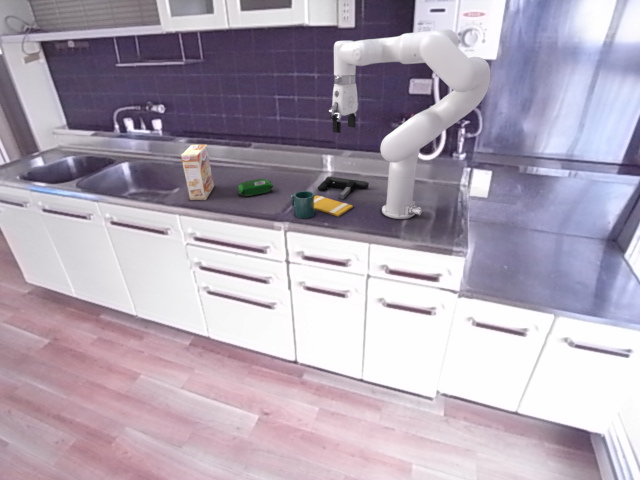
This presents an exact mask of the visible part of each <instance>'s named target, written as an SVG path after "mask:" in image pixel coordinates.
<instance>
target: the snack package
mask: <svg viewBox="0 0 640 480" xmlns="http://www.w3.org/2000/svg"><path fill="white" fill-rule="evenodd" d="M273 183H274V182H272V181H271V180H268V179H266V178H258V179H251V180H245V181H241V182H240V183H239V184H238V187H237V191H238V194H239V195H242V196H244V197H249V196H250V197H252V196H256V195H261V194H267V193H269V192H270V191H271V190H272V189H273V188H274V184H273Z"/></svg>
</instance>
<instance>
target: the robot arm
mask: <svg viewBox="0 0 640 480" xmlns="http://www.w3.org/2000/svg"><path fill="white" fill-rule="evenodd" d="M459 41H460V39H459V37H458V35H457V33H456V32H455V31H453V30H452V29H447V28H445V29H435V30H425V31H417V32H406V33H403V34H401V35H398V36H392V37H391V36H390V37H381V38H369V39H360V40H355V41H354V40H337V41H335V43H334V44H333V89H332V105H331V107H330V109H329V110H328V114H329V118H330V119H331V122H332V132H333V133H335V134H340V133H341V131H342V127H341V126H342V125H341V124H342V123H341V122H342V121H341V118H342V117H343V116H344V117H345V116H347V127H348V128H356V124H357V123H356V121H357V116H358V115H357V112H358V111H359V110H358V109H359V105H360V103H359V101H358V89H357V84H356V69H357V67H364V66H369V65H374V64H381V63H383V64H385V63H400V64H402V65H411V64H412V65H414V64H426V65H427V66H428V68H430V69H431V71H433V72H434V74H435V75H436V76H437V77H439V79H441V80H442V81H443V82H444V83H445V84H446V85H447V87H448V88H450V89H451V90H452V91H451V92H449V93H448V94H447V95H445V96H443V97H442V99H440V100H439V101H437V102H436V103H434V104H433V105H432V106H430V107H428V108H426V109H424V110H422V111H420V112H418V113H416V114H415V115H413V116H411V117H409V118H408V119H407V120H406V121H404V122H403V123H401V124H400V125H399V126H398V127H396V128H395V129H394V130H393V131H391V132H390V133H388V134H387V135H386V136H384V138H383V139H382V140H381V143H380V149H379V150H380V155H381V156H382V158H383V159H384V160H385V161H387V162H389V164H388V177H387V191H386V203H385V204H384V205H383V206H382V207H381V213H382V214H383V215H384V216H386V217H388V218H391V219H396V220H407V219H410V218H412V217H414V216H415V215H418V216H420V215H422V213H423V210H422V207H421V206H417V205H416V201H414V192H415V182H416V174H417V166H418V159H419V155H420V151H421V149H422V148H423V147H425V146H426V145H428V144H430V143H431V142H432V141H434V140H435V139H436V138H438V137H439V136H440V135H441V134H442V133H443V132H444V131H446V130H447V129H448V128H450V127H452V126H453V125H454V124H456V123H457V122H459V121H460V120H462V119H463V118H465V117H466V116H467V115H469V114H470V113H471V112H472V111H474V110H475V109H476V108H477V107H478V105H480V103H481V102H482V101H483V100H484V98H485V97H486V95H487V93H488V90H489V87H490V85H491V75H492V74H491V68H490V65H489V63H488V61H487V60H486V59H484V58H482V57H480V56H470V57H469V56H468V55H466V54H465V53H464V52H463V51H462V50H461V49H460V48H459V46H460V42H459Z"/></svg>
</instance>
